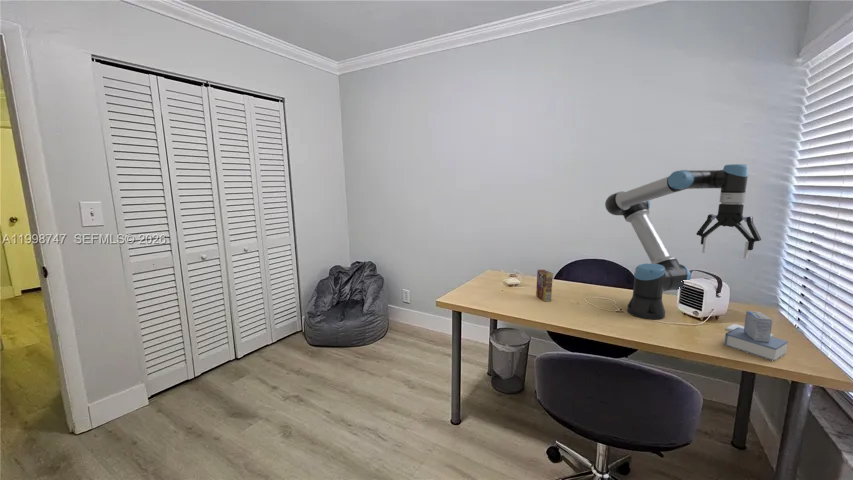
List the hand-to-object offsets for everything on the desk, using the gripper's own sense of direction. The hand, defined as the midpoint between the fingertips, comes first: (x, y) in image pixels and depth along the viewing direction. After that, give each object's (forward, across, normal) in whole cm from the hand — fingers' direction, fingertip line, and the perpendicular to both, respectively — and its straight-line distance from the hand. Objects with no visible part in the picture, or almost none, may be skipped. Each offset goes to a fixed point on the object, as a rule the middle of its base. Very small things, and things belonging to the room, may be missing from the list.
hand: (724, 255), depth 141 cm
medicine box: (+27, +16, -11) cm, 33 cm away
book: (+32, +16, -11) cm, 37 cm away
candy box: (+32, -64, -32) cm, 78 cm away
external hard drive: (+32, +10, +5) cm, 34 cm away
